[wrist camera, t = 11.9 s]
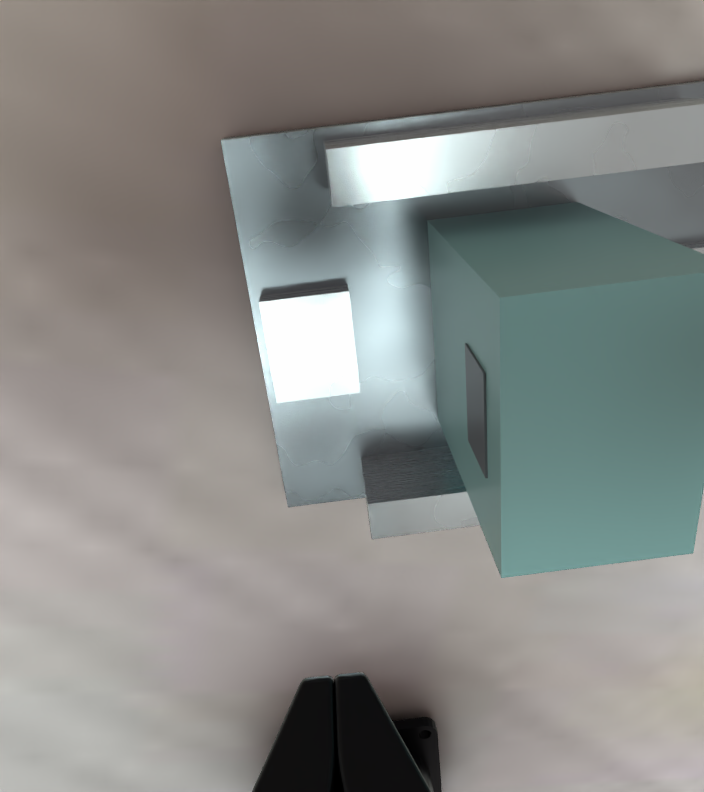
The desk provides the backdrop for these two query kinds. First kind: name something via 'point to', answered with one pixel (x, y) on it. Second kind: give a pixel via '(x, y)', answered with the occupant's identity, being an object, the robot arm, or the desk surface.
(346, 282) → the plate
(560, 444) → the block
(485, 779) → the desk surface
